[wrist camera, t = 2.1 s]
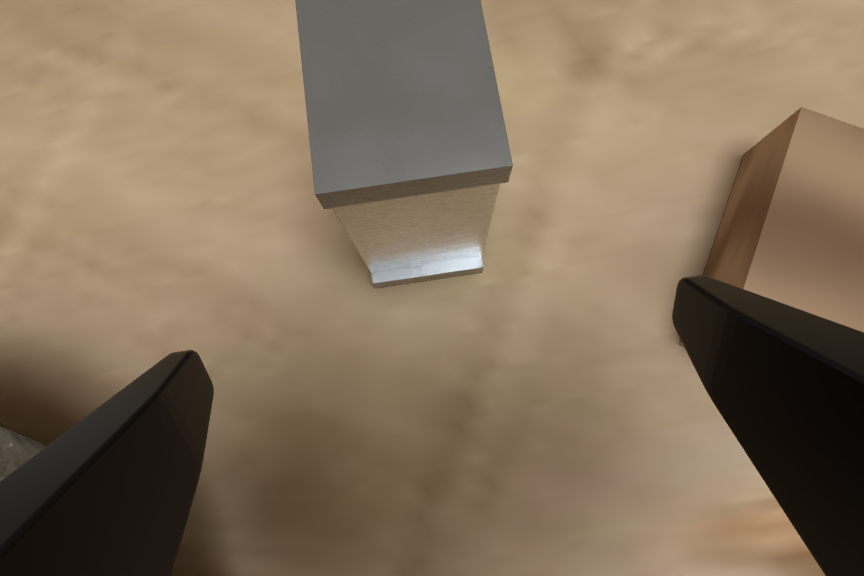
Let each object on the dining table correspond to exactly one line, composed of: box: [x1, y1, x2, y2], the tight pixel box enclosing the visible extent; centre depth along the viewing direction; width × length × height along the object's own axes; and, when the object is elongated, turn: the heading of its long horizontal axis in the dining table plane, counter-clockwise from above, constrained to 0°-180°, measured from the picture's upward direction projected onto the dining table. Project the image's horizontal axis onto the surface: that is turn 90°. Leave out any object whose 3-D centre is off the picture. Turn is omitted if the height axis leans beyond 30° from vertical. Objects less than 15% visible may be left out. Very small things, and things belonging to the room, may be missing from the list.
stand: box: [680, 107, 864, 346], centre depth 21 cm, size 10×10×4 cm
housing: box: [295, 0, 513, 288], centre depth 19 cm, size 6×5×11 cm
